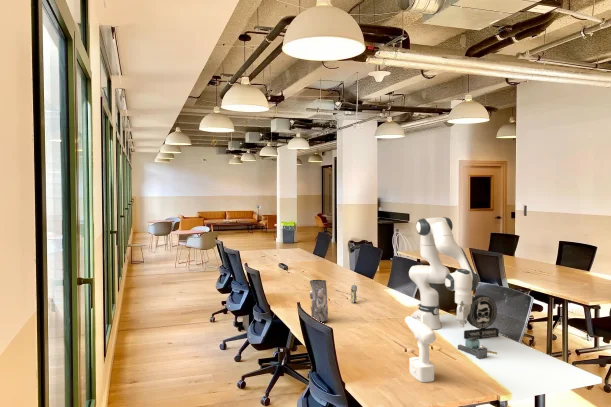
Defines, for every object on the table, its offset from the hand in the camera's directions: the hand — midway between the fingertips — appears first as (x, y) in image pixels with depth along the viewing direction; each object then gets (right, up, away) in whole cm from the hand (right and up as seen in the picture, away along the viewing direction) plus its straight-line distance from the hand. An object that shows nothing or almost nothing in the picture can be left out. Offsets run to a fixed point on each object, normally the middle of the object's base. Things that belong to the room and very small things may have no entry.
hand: (463, 325), depth 243 cm
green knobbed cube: (+6, -14, +4) cm, 16 cm away
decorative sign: (+18, -13, +22) cm, 31 cm away
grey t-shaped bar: (+3, -14, -4) cm, 15 cm away
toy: (-49, -12, +110) cm, 121 cm away
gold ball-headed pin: (+14, -14, -3) cm, 20 cm away
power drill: (-32, -15, -31) cm, 47 cm away
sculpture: (-76, -13, +57) cm, 96 cm away
